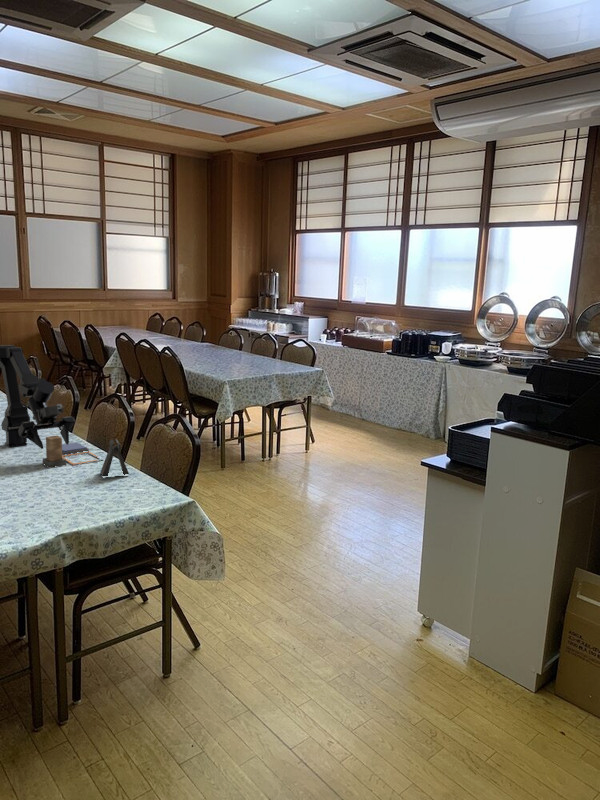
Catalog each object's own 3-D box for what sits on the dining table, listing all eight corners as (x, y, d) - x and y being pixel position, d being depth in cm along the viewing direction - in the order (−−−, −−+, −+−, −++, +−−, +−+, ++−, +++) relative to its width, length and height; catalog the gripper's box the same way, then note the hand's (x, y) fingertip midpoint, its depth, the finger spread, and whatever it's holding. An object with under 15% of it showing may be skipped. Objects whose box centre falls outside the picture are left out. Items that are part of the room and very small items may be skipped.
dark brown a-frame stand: (101, 478, 204) (101, 443, 202) (100, 473, 209) (100, 439, 207) (129, 476, 207) (129, 442, 205) (127, 471, 213) (127, 438, 211)
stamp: (49, 468, 212) (48, 440, 210) (42, 463, 216) (41, 436, 214) (66, 465, 216) (65, 438, 214) (59, 461, 220) (58, 434, 218)
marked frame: (73, 465, 216) (73, 464, 216) (58, 457, 225) (58, 455, 225) (104, 460, 224) (104, 459, 223) (89, 452, 233) (89, 451, 232)
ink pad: (63, 455, 227) (63, 451, 227) (52, 449, 234) (52, 445, 234) (88, 451, 234) (88, 447, 234) (77, 445, 241) (77, 441, 241)
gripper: (20, 399, 208) (35, 437, 202) (72, 394, 221) (88, 429, 216) (11, 418, 214) (26, 455, 209) (62, 411, 228) (77, 446, 223)
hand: (55, 446), depth 214 cm, fingers open, 9 cm apart
